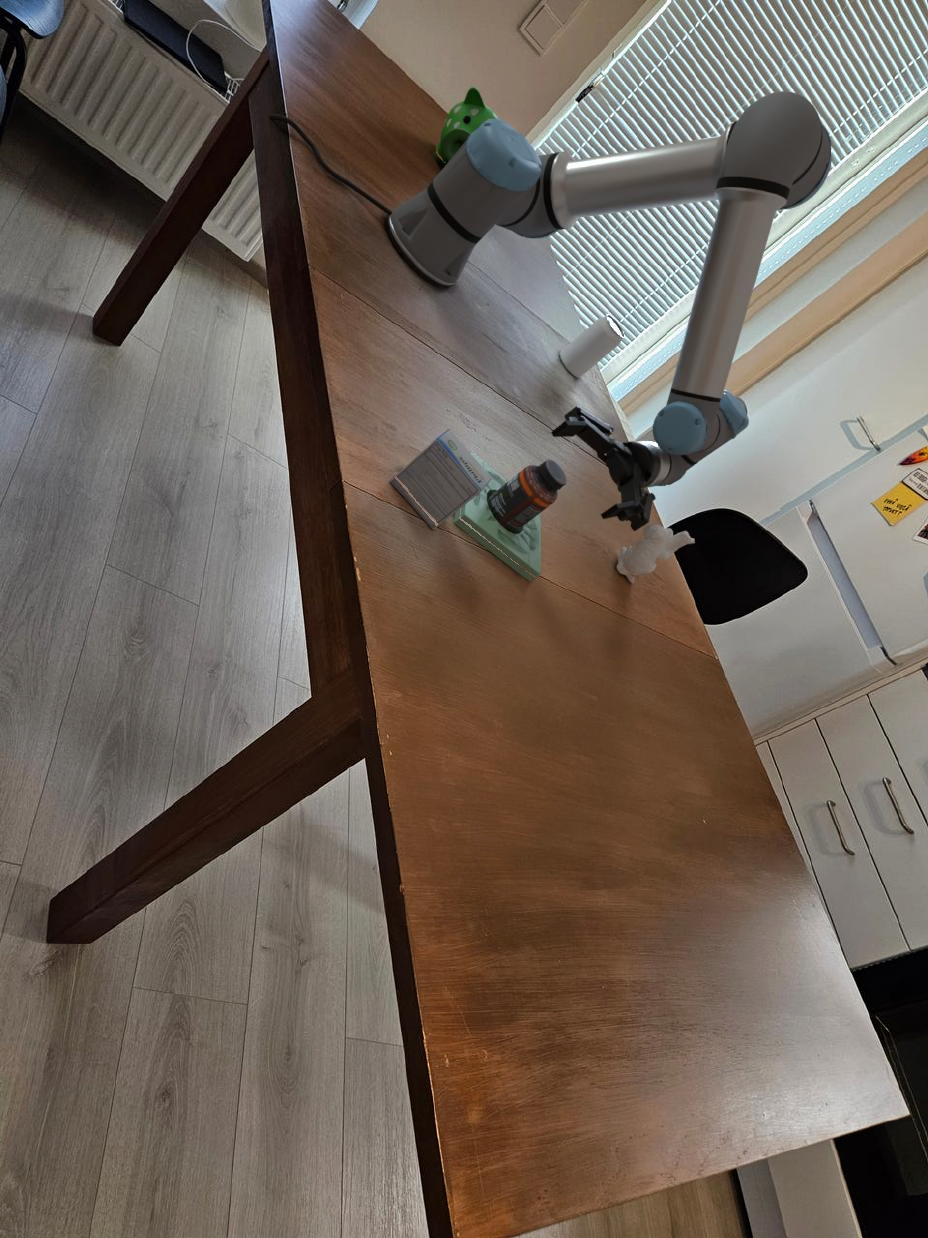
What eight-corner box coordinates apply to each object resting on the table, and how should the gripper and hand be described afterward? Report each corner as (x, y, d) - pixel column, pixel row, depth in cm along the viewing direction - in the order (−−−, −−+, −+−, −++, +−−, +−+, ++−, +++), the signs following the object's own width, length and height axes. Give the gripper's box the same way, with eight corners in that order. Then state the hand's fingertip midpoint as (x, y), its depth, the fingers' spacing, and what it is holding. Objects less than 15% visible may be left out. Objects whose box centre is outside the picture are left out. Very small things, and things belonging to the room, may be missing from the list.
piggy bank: (417, 150, 161) (468, 87, 153) (432, 131, 174) (480, 73, 166) (467, 205, 167) (519, 148, 158) (478, 183, 180) (527, 129, 172)
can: (572, 379, 160) (620, 339, 153) (554, 352, 160) (601, 311, 153) (583, 377, 165) (629, 339, 159) (565, 351, 165) (611, 312, 159)
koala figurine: (633, 564, 135) (693, 526, 129) (642, 595, 132) (704, 558, 125) (602, 544, 130) (663, 503, 124) (611, 576, 126) (674, 536, 120)
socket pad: (453, 523, 100) (464, 514, 99) (461, 458, 110) (471, 450, 109) (530, 582, 107) (541, 574, 106) (530, 516, 117) (540, 509, 116)
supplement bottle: (516, 535, 111) (579, 489, 104) (496, 541, 106) (560, 493, 100) (494, 499, 111) (554, 451, 105) (472, 503, 106) (535, 453, 100)
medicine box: (444, 518, 100) (493, 478, 95) (431, 532, 96) (482, 491, 91) (402, 469, 98) (450, 426, 93) (388, 481, 94) (436, 437, 90)
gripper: (659, 543, 128) (609, 560, 111) (580, 414, 131) (519, 411, 114) (699, 518, 124) (653, 532, 107) (617, 385, 127) (559, 377, 110)
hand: (584, 469), depth 110 cm, fingers open, 13 cm apart
